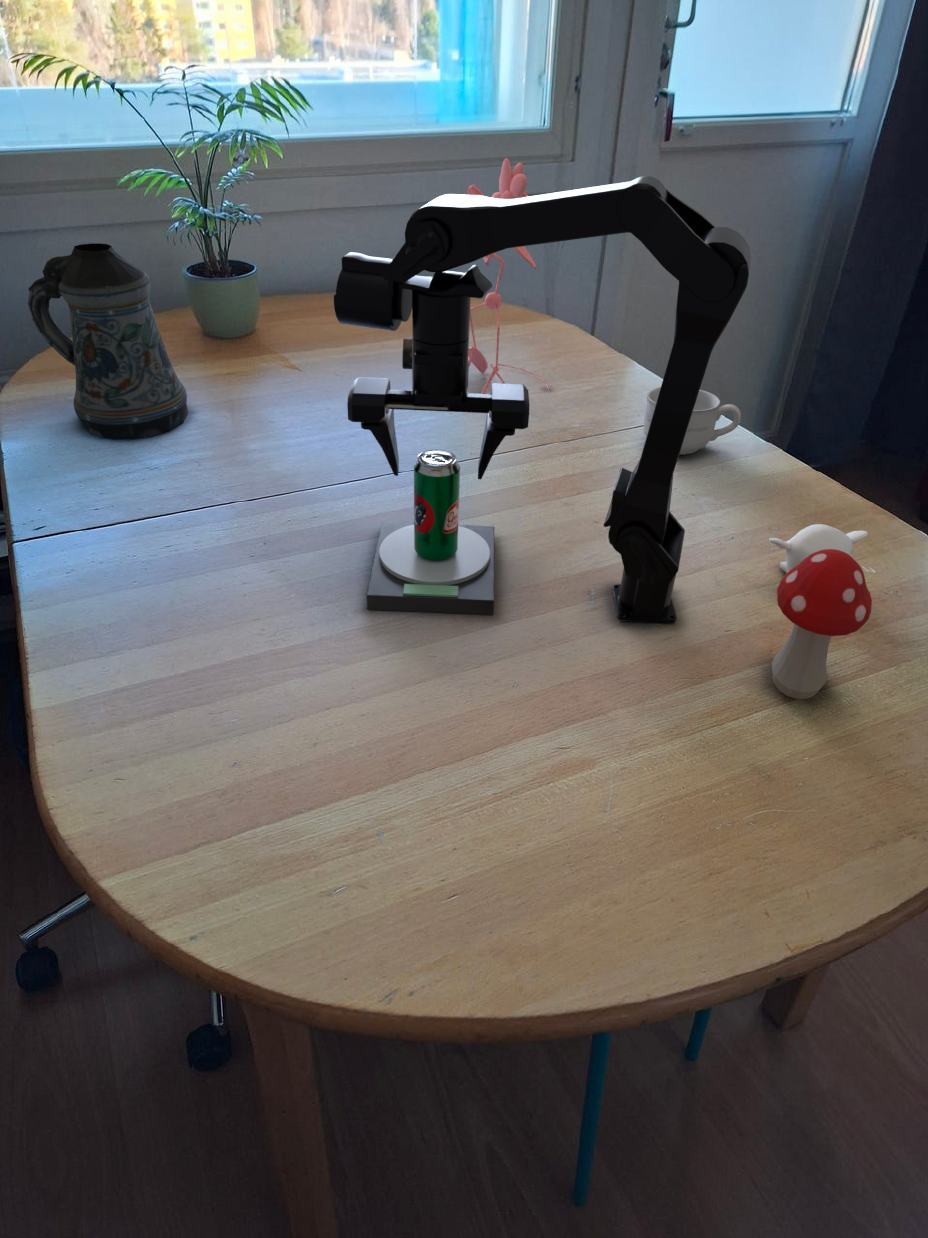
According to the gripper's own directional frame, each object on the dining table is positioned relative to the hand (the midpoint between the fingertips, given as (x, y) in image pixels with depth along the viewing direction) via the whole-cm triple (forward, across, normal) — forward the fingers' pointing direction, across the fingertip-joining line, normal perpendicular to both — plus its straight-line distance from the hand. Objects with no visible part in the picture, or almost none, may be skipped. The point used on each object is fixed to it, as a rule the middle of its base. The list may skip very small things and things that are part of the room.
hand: (438, 475), depth 97 cm
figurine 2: (+12, -44, +1) cm, 45 cm away
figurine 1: (+12, -9, -57) cm, 59 cm away
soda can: (+10, 0, +1) cm, 10 cm away
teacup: (+12, -36, -36) cm, 52 cm away
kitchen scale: (+12, 0, +1) cm, 12 cm away
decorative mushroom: (+12, -38, +18) cm, 44 cm away
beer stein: (+12, +50, -38) cm, 64 cm away
